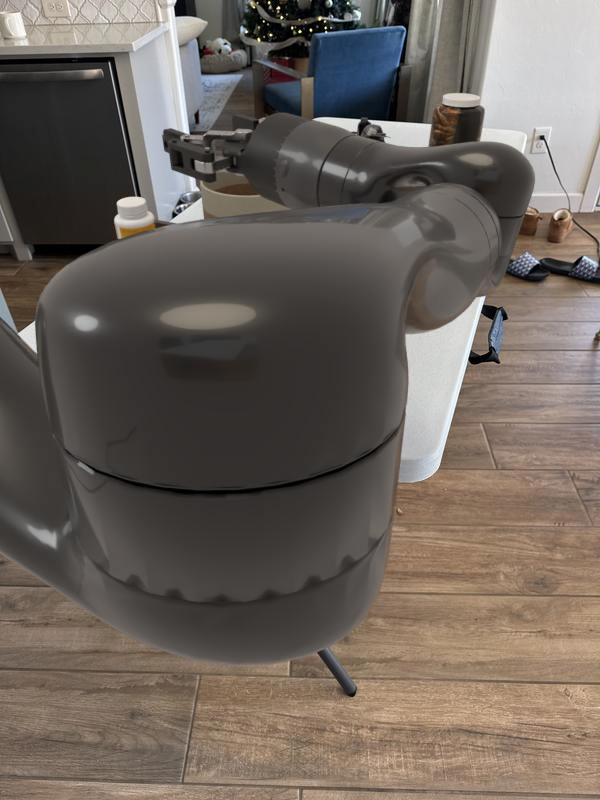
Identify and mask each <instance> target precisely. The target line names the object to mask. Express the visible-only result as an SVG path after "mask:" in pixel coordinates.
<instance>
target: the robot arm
mask: <svg viewBox="0 0 600 800" xmlns="http://www.w3.org/2000/svg"><path fill="white" fill-rule="evenodd" d="M231 123H232V126H231V127H232V131H231V130H214V129H213V130H212V129H211V130H208V131H206V133H204V134H203V135H200V134H199V135H198V134H190V133H186V132H183V131H180V130H178V129H174V128H172V127H170V128H165V129H163V131H162V134H161V138H162V145H163V151H164V152H165V153H167V154H168V156H169V163H170V169H171V170H172V171H174V172H176V173H179V174H182V175H185V176H187V177H191V178H192V179H196V180H198V181H200V180H201V181H204V182H208V183H212V182H215V181H216V180H217V178H216V172H222V173H234V174H235V175H237V176H244V177H246V179H247V180H248V182H249V183H250V185H251V186H252V188H253V189H254V190H255V192H256V193H257V194H259V195H260V196H261V197H263V198H265V199H268V200H270V201H273V202H275V203H278V204H280V205H283V206H285V207H288V208H290V209H292V210H283V211H272V212H261V213H252V214H244V215H235V216H226V217H218V218H209V219H204V218H202V219H201V218H200V219H196V220H189V221H183V222H176V223H177V224H172V225H168V226H163V227H159V228H155V229H150V230H146V231H142V232H139V233H136V234H133V235H130V236H127V237H124V238H121V239H118V238H117V239H115V240H112V241H110V242H107V243H105V244H103V245H101V246H99V247H97V248H95V249H93V250H90V251H89V252H86V253H84V254H82V255H80V256H78V257H77V258H75V259H74V260H72V261H71V262H69V263H67V264H66V265H65V266H64V267H63V268H62V269H60V271H58V272H57V273H55V274H54V275H53V277H52V278H51V279H50V280H49V282H48V283H47V284H46V285H45V287H44V288H43V290H42V292H41V294H40V296H39V298H38V300H37V305H36V308H35V317H34V319H35V320H34V330H35V333H34V334H35V345H36V346H35V347H36V351H35V350H34V349H33V348H32V347H31V346H30V345H29V344H28V343H27V342H26V341H25V340H24V339H23V338H22V337H21V336H20V335H19V334H18V333H17V332H16V331H15V329H13V328H12V327H11V326H10V325H9V324H8V322H7V321H6V320H4V319H3V318H2V317H1V316H0V554H1V555H2V556H3V557H5V558H6V559H8V560H10V561H11V562H13V563H14V564H16V565H17V566H18V567H20V568H21V569H23V570H25V571H26V572H28V573H29V574H30V575H32V576H34V577H35V578H36V579H38V580H40V581H41V582H43V583H44V584H46V585H47V586H49V588H51V589H53V590H54V591H56V592H57V593H59V594H60V595H62V597H65V598H66V599H68V600H69V601H70V602H72V603H73V604H75V605H77V606H78V607H79V608H81V609H82V610H84V611H85V612H87V613H89V614H90V615H92V616H93V617H95V618H96V619H98V620H99V621H101V622H102V623H104V624H106V625H107V626H109V627H111V628H112V629H114V630H116V631H117V632H119V633H121V634H123V635H124V636H126V637H128V638H129V639H131V640H134V641H135V642H138V643H140V644H143V645H145V646H148V647H150V648H153V649H156V650H159V651H161V652H164V653H167V654H170V655H173V656H176V657H178V658H182V659H186V660H191V661H197V662H198V661H199V662H204V663H209V664H215V665H221V666H227V667H228V666H231V667H232V666H233V667H234V666H240V667H241V666H272V665H275V664H276V665H277V664H280V663H281V664H282V663H286V662H290V661H291V662H292V661H295V660H301V659H304V658H306V657H309V656H311V655H314V654H316V653H318V652H321V651H323V650H325V649H328V648H330V647H332V646H334V645H336V644H337V643H338V642H340V641H341V640H342V639H344V638H345V637H347V636H348V635H349V634H350V633H352V632H353V631H354V630H356V629H357V628H358V627H359V626H360V625H361V623H362V622H363V621H364V620H365V618H366V617H367V616H368V614H370V612H371V610H372V609H373V607H374V605H375V604H376V602H377V600H378V597H379V595H380V592H381V590H382V586H383V583H384V579H385V575H386V572H387V567H388V563H389V557H390V551H391V542H392V534H393V528H394V527H393V526H394V517H395V507H396V504H397V496H398V487H399V477H400V469H401V459H402V451H403V443H404V433H405V425H406V416H407V405H408V396H409V385H410V384H409V383H410V381H409V380H410V379H409V360H408V351H407V340H406V339H407V337H406V336H407V335H420V334H426V333H429V332H433V331H435V330H438V329H441V328H443V327H444V326H447V325H448V324H450V323H452V322H454V321H455V320H456V319H457V318H459V317H460V316H461V315H462V314H463V313H465V311H467V310H468V309H469V308H470V306H472V304H473V303H474V302H475V300H476V299H477V298H482V297H486V296H487V297H488V296H490V295H492V294H493V293H494V292H495V291H496V290H497V289H498V288H499V286H500V285H501V283H502V281H503V280H504V277H505V275H506V272H507V270H508V267H509V264H510V261H511V257H512V255H513V252H514V250H515V246H516V243H517V240H518V238H519V235H520V231H521V228H522V225H523V221H524V219H525V216H526V215H525V214H526V213H527V210H528V208H529V205H530V202H531V199H532V195H533V192H534V189H535V184H536V174H535V173H536V172H535V170H534V167H533V165H532V164H531V162H530V160H529V159H528V158H527V157H526V155H525V154H524V153H523V152H521V151H520V150H519V149H517V148H516V147H514V146H512V145H510V144H507V143H504V142H500V141H493V140H492V141H491V140H480V141H477V142H466V143H458V144H450V145H443V146H434V147H428V146H419V147H418V146H404V145H396V144H393V143H388V142H385V143H384V142H380V141H376V140H373V139H369V138H365V137H361V136H358V135H357V134H354V133H352V132H353V131H349V130H348V129H345V128H343V127H340V126H337V125H334V124H330V123H327V122H323V121H319V120H316V119H315V120H314V119H311V118H307V117H303V116H300V115H297V114H292V113H288V112H275V113H273V114H270V115H268V116H266V117H262V118H256V117H255V118H254V117H251V116H247V115H244V114H241V113H239V114H238V113H237V114H234V115H232V116H231ZM216 141H221V153H222V154H221V155H217V150H216V149H217V148H216ZM199 145H202V146H203V147H202V146H199Z"/></svg>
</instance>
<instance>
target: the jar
mask: <svg viewBox="0 0 600 800" xmlns="http://www.w3.org/2000/svg"><path fill="white" fill-rule="evenodd" d="M480 100H481V97H480V96H479V95H476V94H473V93H467V92H466V93H465V92H452V93H445V94H443V95H442V101H441V102H440V103H438V104H436V105H435V106H434V109H433V112H432V118H431V124H430V132H429V140H428V146H427V147H434V146H443V145H450V144H458V143H466V142H477V141H481V139H482V133H483V128H484V120H485V115H486V109H485V107H484V106H483V105H481V104H480Z"/></svg>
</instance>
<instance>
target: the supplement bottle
mask: <svg viewBox="0 0 600 800" xmlns="http://www.w3.org/2000/svg"><path fill="white" fill-rule="evenodd" d="M116 207H117V214H116V215H115V216H114V218H113V223H114V228H115V232H116V237H117V240H118V239H121V238H124V237H127V236H130V235H133V234H136V233H139V232H142V231H146V230H150V229H155V228H156V225H155V220H156V219H155V215H154V214H153V213H152V212H151V211H150V210H148V205H147V201H146V199H145V198H143V197H140V196H128V197H127V196H126V197H123V198H121V199H119V200H118V201H117V202H116Z"/></svg>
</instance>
